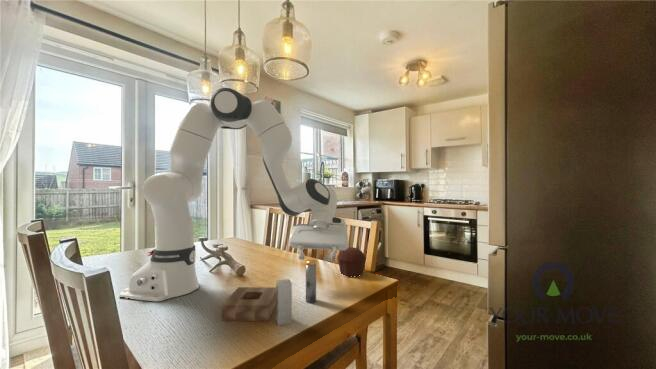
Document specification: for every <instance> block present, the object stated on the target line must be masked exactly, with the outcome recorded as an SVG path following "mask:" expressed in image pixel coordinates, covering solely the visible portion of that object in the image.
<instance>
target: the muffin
mask: <svg viewBox="0 0 656 369" xmlns="http://www.w3.org/2000/svg"><path fill="white" fill-rule="evenodd" d="M336 258H337V260H338V266H339V272H341V273H340V275H341V274H343V275H345V276H352V277H351V278H353V277H354V276H359V275H361V274H362V273H363V274H364V269H365V263H366V260H367V257H366V255H365V254H364V252H363V251H362V250H361V249H359V248H357V247H353V246H352V247H350V246H348V249H347V250H340V251H339V253H338V255H337V257H336ZM345 276H344V277H345ZM361 276H362V275H361ZM354 278H355V277H354Z"/></svg>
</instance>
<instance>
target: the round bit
mask: <svg viewBox="0 0 656 369" xmlns="http://www.w3.org/2000/svg"><path fill="white" fill-rule="evenodd" d="M316 302H317V260H316V259H307V260H305V303H307V304H315V303H316Z"/></svg>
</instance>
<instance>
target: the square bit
mask: <svg viewBox="0 0 656 369" xmlns="http://www.w3.org/2000/svg"><path fill="white" fill-rule="evenodd" d="M275 287H276V306H275V316H276V317H275V320H276V323H277V326H278V327H279V326H285V325H291V324H292V323H293V322H292V321H293V319H292V318H293V312H292V310H293V309H292V307H293V306H292V305H293V303H292V302H293V301H292V300H293V299H292V298H293V297H292V295H293V290H292V289H293V285H292V281H291V280H290V278H288V279H287V278H285V279H280V280H279V279H278V280H276V281H275Z"/></svg>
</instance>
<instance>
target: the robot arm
mask: <svg viewBox="0 0 656 369" xmlns="http://www.w3.org/2000/svg"><path fill="white" fill-rule="evenodd" d="M247 126H248V127H250V128H251V130H252V131H253V132H254V134H255V135H256V137H257V139H258V141H259V143H260V145H261V148H262V152H263V155H262V160H263V165H264V167H265V170H266V172H267V175H268V177H269V179H270V181H271V184H272V186H273V188H274V189H273V190H274V192H275V193H276V196H277V199H278V203H279V206H280V209H281V211H283V213H284V214H286V215H287V216H289V217H297V216H299V215H300V214H302V213H303V212H305V211H307V210H311V215H310V219H309V223H297V224H295V225H293V226H292V229H291V233H290V236H289V239H288V244H289V246H290V247H291V248H292V249H297V250H298V252H299V254H298V259H299V260H305V258H306V257H305V256H306V254H305V252H303V251H304V249H306V250H327V251H328V250H329V251H331V253H327V256H326V257H327V258H326V259H327V261H328V262H333V260H334V257H335V255H336V254H337V253H338V251H342V250H347V249H348V248H349V234H348V229H347V225H346V221H345V219H344V218H341V217H338V216H335V214H336V212H337V206H338V195H337V193H336V190H335V189H334V188H332V187H331V186H328V185H325V184H323V183H322V182H321V181H319V180H318V179H315V178H308V179H306V180H305V181H302V182H300V183H298V184H297V185H296V186H294V187H291V186H290V184H289V182H288V179H287V177H286V175H285V172H284V170H283V169H284V168H283V162H284V160H285V158H286V156H287V154H288V153H289V151H290V149H291V148H292V143H293V135H292V133H291V130H290V128H289V127H288V125H287V123H286V122H285V120H284V118H283V117H282V116H281V114H280V112H279V111H278V110H277V109H276V107H275V106H273V104H272V103H271V102H270V101H268V100H266V99H260V100H257V101H255V102H252V101H251V99H250V98H249V97H247V96H245V95H244V94H242V93H240V92H239V91H238V90H235V89H233V88H230V87H221V88H218V89H217V90H216V91H215V92H213V94H212V95H211V98H210V104H207V103H204V102H193V103H192V104H190V105H189V107H188V108H187V110H186V112H185V113H184V114H183V117H182V119H181V121H180V123H179V125H178V127H177V130H176V133H175V135H174V138H173V140H172V144H171V146H170V149H169V154H170V161H171V162H170V169H169V171H164V172H163V171H162V172H159V173H156V174H153V175H151V176H149V177H148V178H146V180H145V181H144V182H143V185H142V189H141V190H142V192H141V194H142V195H143V198H144V199H145V201H146V202H147V203H148V204H149V207H150V209H151V212H152V216H153V219H154V224H155V248H154V249H152V250H151V251H149V252H147V256H146V257H151V258H150V259H149V261H148V262H147V263H145V264H144V265H142V266H141V267H140V268H139V269H137V270H136V271H135V272H134V273H132V275H131V276H130V278H129V282H128V283H129V284H128V287H126V288H125V289H123V290H122V291H121V292H119V296H120V297H125V298H124V299H128V298H130V300H138V301H148V302H162V301H165V300H168V299H172V298H176V297H180V296H184V295H187V294H189V293H193V292H194V291H195V290H197V289H198V288H199V287H200V284H199V280H198V275H197V272H196V270H197V269H196V264H195V262H196V255H197V254H196V245H195V223H194V220H193V219H192V216H191V213H190V208H189V204H191V203H193V202H194V201H196V200H197V199H198V198H199V197H200V196H201V194H202V190H203V187H202V181H203V176H204V169H205V165H206V161H207V158H208V155H209V153H210V150H211V147H212V145H213V142H214V139H215V135H216V134H217V131H218V130H219V129H220V128H221V129H224V130H227V129H228V130H241V129H244V128H245V127H247ZM120 297H119V298H120Z"/></svg>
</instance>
